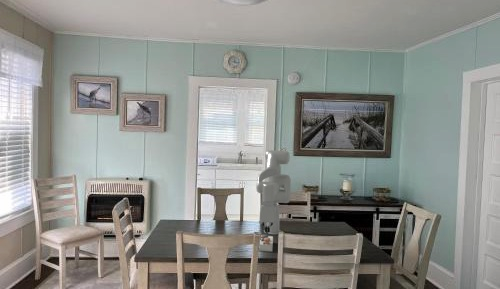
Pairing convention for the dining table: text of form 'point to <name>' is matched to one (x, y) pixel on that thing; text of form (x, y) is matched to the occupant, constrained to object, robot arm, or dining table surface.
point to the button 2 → (267, 241)
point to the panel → (266, 247)
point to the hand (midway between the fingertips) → (267, 233)
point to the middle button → (264, 237)
